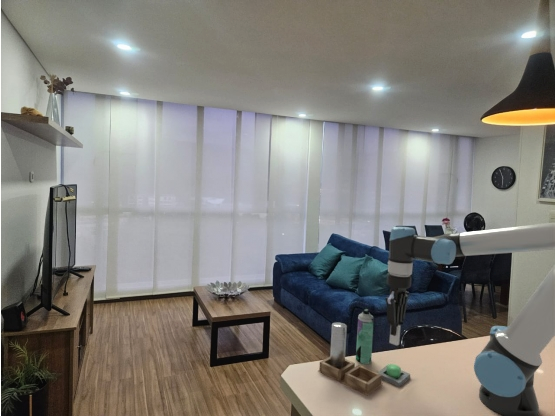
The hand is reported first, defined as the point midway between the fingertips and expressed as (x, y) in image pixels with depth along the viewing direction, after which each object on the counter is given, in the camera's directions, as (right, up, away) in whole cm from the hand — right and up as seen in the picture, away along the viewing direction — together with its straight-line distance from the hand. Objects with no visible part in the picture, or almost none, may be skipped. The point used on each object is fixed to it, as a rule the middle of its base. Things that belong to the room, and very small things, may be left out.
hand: (394, 343), depth 117 cm
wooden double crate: (-15, -12, 0) cm, 19 cm away
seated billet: (-19, -11, +3) cm, 22 cm away
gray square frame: (0, -13, +1) cm, 13 cm away
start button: (0, -11, 0) cm, 11 cm away
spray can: (-7, -12, +12) cm, 18 cm away
